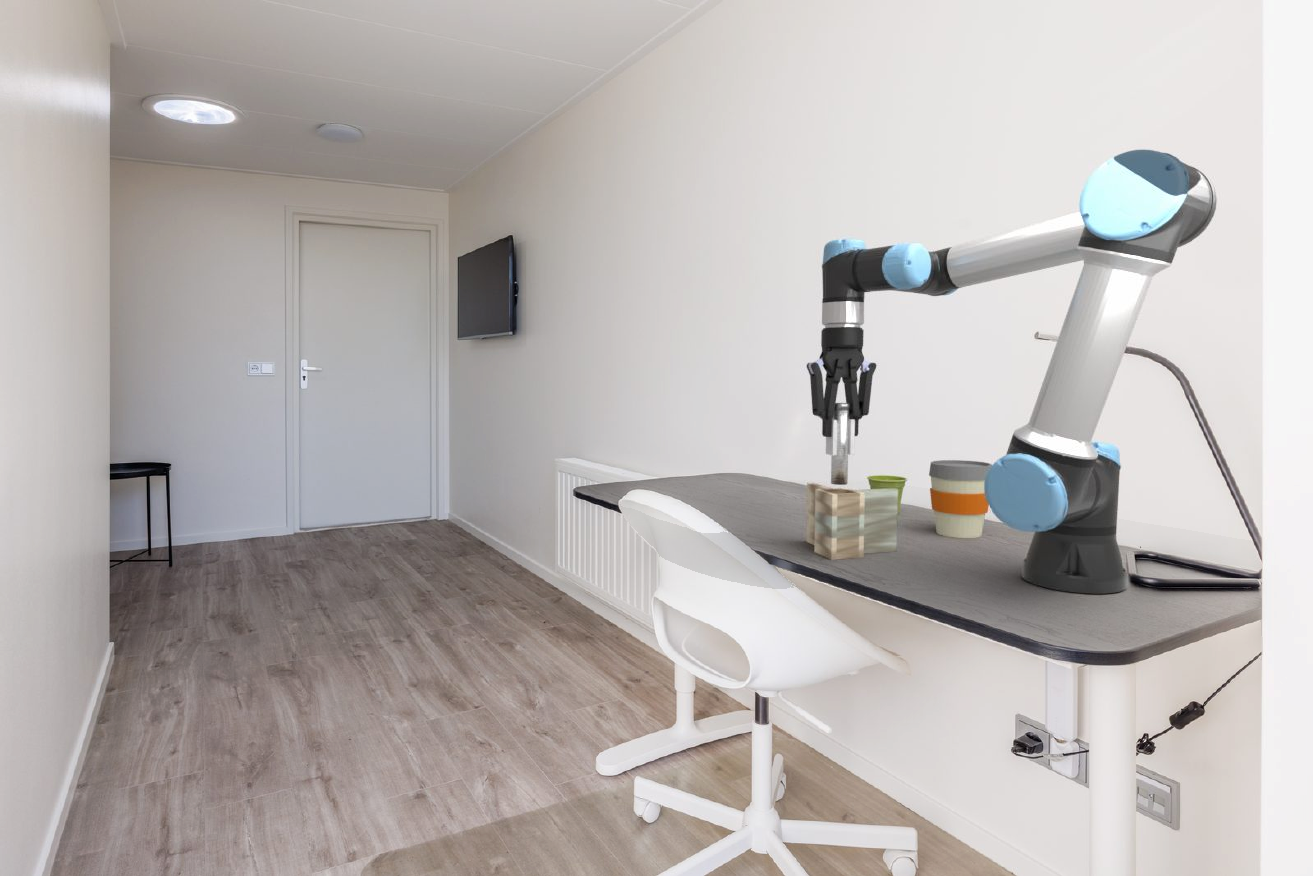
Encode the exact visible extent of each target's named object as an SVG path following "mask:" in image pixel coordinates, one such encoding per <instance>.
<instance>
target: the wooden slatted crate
mask: <svg viewBox="0 0 1313 876" xmlns="http://www.w3.org/2000/svg"><path fill="white" fill-rule="evenodd" d="M897 504H898V489H896V488H886V489H869V488H868V489H851V488H848V487H840V488H838V487H837V488H833V487H829V486H826V485H823V484H819V483H814V482H807V483H806V530H805V531H806V532H805V533H806V536H805V541H806V543H808V544H811V545H813V546H814V547H813V548H814V553H816V554H818V555H821V556H822V557H825V558H826V559H829V560H830V561H833V560H836V561H837V560H846V559H848V560H849V559H860V558H862V559H863V558H865V557H864V554H874V553H877V554H878V553H891V552H897V546H898V545H897V541H898V540H897V538H898V537H897V536H898V514H897Z"/></svg>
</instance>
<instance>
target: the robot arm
mask: <svg viewBox="0 0 1313 876" xmlns="http://www.w3.org/2000/svg"><path fill="white" fill-rule="evenodd" d="M1217 199H1218V198H1217V193H1216V189H1215V185H1214V184H1213V182H1212V181H1211V180H1210V178H1209V177H1208V176H1207V175H1206V174H1205V173H1204V172H1203V171H1201V170H1199V169H1198V168H1195V167H1194V166H1192V165H1188V164H1187V163H1184V162H1183V161H1182V160H1180V159H1179V158H1178V157H1177V156H1174V155H1172V154H1171V153H1167V152H1161V151H1159V150H1153V149H1134V150H1128V151H1125V152H1122V153H1119V154H1117V155H1115V156H1112V158H1110V159H1108V160H1107V161H1105V162H1103V163H1102V164H1101V165H1100V166H1098V168H1097V169H1096V170H1094V172H1093V173H1092V174H1091V175H1090V176H1089V178H1087V181H1086V182H1085V184H1084V186H1083V189H1082V190H1081V193H1080V198H1079V205H1078V206H1079V211H1076V212H1073V213H1069V214H1065V215H1061V216H1058V217H1055V218H1051V219H1046V220H1044V221H1043V220H1042V221H1040V222H1036V223H1031V224H1029V225H1024V226H1022V227H1021V226H1020V227H1019V228H1015V229H1011V230H1007V231H1003V232H999V233H997V234H993V235H988V236H984V237H981V238H978V239H977V238H976V239H975V240H974V239H973V240H969V241H967V242H963V243H959V244H956V245H953V246H951V247H945V248H942V249H939V250H934V251H928V250H927V249H926V248H925V246H924V245H923V244H921V243H918V242H912V243H905V242H900V243H896V244H893V245H886V246H880V247H873V248H866V243H865V241H864V240H862V239H855V238H845V239H835V240H831V241H828V242H827V243H826V244H825V245H824V246H823V247H824V248H823V256H822V264H821V271H822V301H821V325H823V326H824V328H822V329H821V337H820V339H821V340H820V344H821V345H820V346H821V353H820V354H819V359H817V360H814V361H813V362H807V363H806V369H807V371H808V374H809V377H810V379H809V382H810V393H811V407H812V408H811V409H812V415H814V416H816V417H818V418H820V419H821V420H822V426H821V427H822V428H821V431H822V433H821V434H822V437H825V455H829V456H831V455H836V454H837V420H833V416H834V410H835V403H837V397H838V396H837V395H838V388H839V384H840V383H841V380H842V383H843V386H844V394H845V403H850V409H849V435H848V456H849V455H850V456H852V455H853V456H854V455H855V437H858V435H859V425H860V424H859V423H860V422H859V421H860V420H861V419H862V418H863V417H864V416H868V415H869V413H870V402H871V395H872V386H873V385H872V384H873V376H874V373H875V371H876V369H877V363H876V362H870V361H868V360H866V359H865V357H864V354H863V347H864V329H863V328H862V327H861V326H862V325H864V324H865V293H870V292H871V293H872V292H884V291H885V292H887V291H894V292H905V293H913V294H919V295H927V296H929V297H930V296H931V297H939V296H948V295H951V294H954V292H956V291H957V290H959V289H961V288H962V289H963V288H965V287H970V286H975V285H978V284H983V283H989V282H991V281H996V280H1000V279H1005V278H1009V277H1015V276H1018V275H1023V274H1027V273H1028V274H1029V273H1032V272H1037V271H1040V270H1041V271H1042V270H1046V269H1050V268H1054V267H1058V266H1059V267H1060V266H1063V265H1068V264H1072V263H1076V262H1081V261H1083V266H1082V269H1081V273H1080V274H1079V277H1078V281H1077V284H1076V287H1075V289H1074V292H1073V295H1072V298H1071V301H1070V304H1069V306H1068V310H1067V312H1066V315H1065V318H1064V321H1063V324H1062V326H1061V329H1060V332H1059V336H1058V338H1057V341H1056V344H1055V347H1054V349H1053V352H1052V355H1051V358H1050V361H1049V364H1048V367H1047V370H1046V372H1045V375H1044V379H1043V381H1042V383H1041V387H1040V390H1039V392H1038V396H1037V398H1036V401H1035V404H1034V407H1033V410H1032V413H1031V416H1030V418H1029V420H1028V422H1027V424H1025V425H1023V426H1021V427H1018V428H1017V429H1015V430H1014V432H1013V434H1012V436H1011V439H1010V442H1009V446H1008V447H1007V451H1006V454H1005V455H1004V456H1001V457H1000V458H998V459H997V460H996V461H995V462H994V463H993V464H992V466H991V467H990V469H989V470H988V472H987V474H986V477H985V482H984V492H985V497H986V501H987V503H988V504H989V508H990V509H991V510H990V511H992V514H994V516H995V517H996V518H997V519H998V520H999V521H1000V522H1001V523H1003V524H1004V525H1005V526H1008V527H1009V528H1012V529H1013V530H1016V531H1019V532H1026V533H1027V532H1028V533H1029V532H1030V533H1034V534H1033V537H1032V539H1031V542H1030V545H1029V548H1028V551H1027V554H1026V557H1025V558H1024V559H1023V560H1022V561H1023V562H1022V564H1021V577H1022V578H1023V580H1025V581H1026V582H1028V583H1031V584H1033V585H1036V586H1040V587H1042V588H1048V589H1051V590H1055V591H1057V590H1058V591H1062V592H1070V593H1079V594H1096V595H1097V594H1115V593H1120V592H1123V591H1125V590H1127V588H1128V585H1127V584H1128V572H1127V570H1126V569H1125V568H1124V565H1123V560H1122V555H1121V551H1120V547H1119V543H1118V541H1117V527H1118V526H1117V525H1118V512H1119V510H1118V509H1119V491H1120V487H1119V486H1120V471H1121V468H1122V463H1121V462H1120V461H1121V460H1120V454H1121V453H1120V450H1119V448H1118V447H1117V446H1116V445H1114V444H1113V443H1107V442H1099V441H1092V440H1093V437H1094V434H1095V432H1096V429H1097V426H1098V423H1099V421H1100V419H1101V416H1102V413H1103V409H1104V408H1105V404H1106V401H1108V397H1109V394H1110V391H1111V389H1112V387H1113V383H1114V381H1115V379H1116V375H1117V373H1118V370H1119V368H1120V366H1121V362H1122V359H1123V357H1124V354H1125V352H1126V348H1127V347H1128V343H1129V341H1130V338H1131V336H1132V333H1133V330H1134V329H1135V325H1136V323H1137V320H1138V318H1139V314H1140V312H1141V310H1142V307H1143V305H1144V304H1143V303H1144V301H1145V298H1146V296H1147V293H1148V292H1149V291H1148V290H1149V288H1150V285H1151V283H1152V280H1153V277H1154V276H1155V275H1157V274H1158V273H1160V272H1161V271H1163V270H1166V269H1168V268H1169V267H1171V265H1172V263H1173V260H1175V259H1174V258H1175V256H1176V253H1177V251H1178V248H1181V247H1183V246H1185V245H1187V244H1189V243H1190V242H1191V243H1192V241H1193V240H1195V239H1197V238H1198V237H1199V236H1201V234H1202V233H1203V232H1204V231H1206V229H1207V228H1208V226H1209V225H1210V223H1211V222H1212V219H1213V217H1214V216H1215V212H1216V210H1217ZM823 370H824V371H825V372H826V374H825V389H824V381H823V379H824V378H823V372H822V371H823ZM858 371H860V374H859V380H858ZM858 381H859V383H857V382H858ZM857 384H858V385H857Z"/></svg>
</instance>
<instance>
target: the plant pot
mask: <svg viewBox="0 0 1313 876" xmlns="http://www.w3.org/2000/svg"><path fill="white" fill-rule="evenodd" d="M866 479H867V480H868V485H869V486H870V487H869V488H870V489H886V488H896V489H898V504H897V515H899V514H900V510H901V509H900V508H901V503H902V498H903V497H902V496H903V491H904V488H905V486H906V482H907V481H908V478H907V477H904V476H898V475H884V474H880V475H878V474H876V475H868V476H867V477H866Z"/></svg>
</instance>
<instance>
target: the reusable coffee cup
mask: <svg viewBox="0 0 1313 876" xmlns="http://www.w3.org/2000/svg"><path fill="white" fill-rule="evenodd" d="M992 465H993V464H992V463H989V462H984V461H976V460H957V459H954V460H953V459H951V460H950V459H949V460H948V459H947V460H945V459H944V460H933V461H931V462H930V466H929V471H928V472H929V473H928V475H929V477H930V481H931V483H930V484H931V487H930V488H929V492H930V502H931V509H932V511H933V512H934V513H933V514H934V521H935V531H936V534H937V535H940V536H942V537H943V536H944V537H948V538H956V539H976V538H980V537H982V535H983V530H984V529H983V528H984V523H985V522H984V521H985V518H986V517H985V516H986V514H987V513H988V511H989V508H990V506H989V504H988V503H987V501H986V497H985V492H984V482H985V477H986V474H987V472H988V470H989V469H990V467H991V466H992Z"/></svg>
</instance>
